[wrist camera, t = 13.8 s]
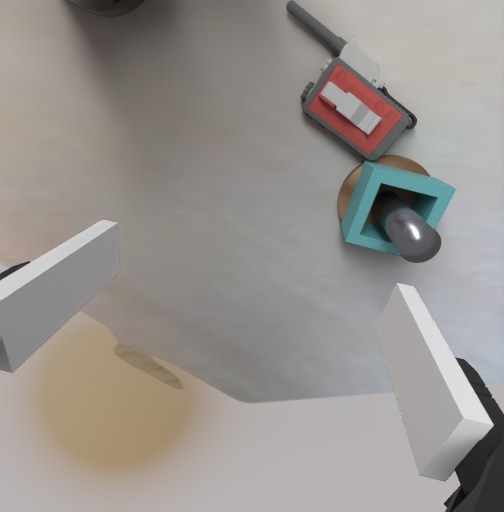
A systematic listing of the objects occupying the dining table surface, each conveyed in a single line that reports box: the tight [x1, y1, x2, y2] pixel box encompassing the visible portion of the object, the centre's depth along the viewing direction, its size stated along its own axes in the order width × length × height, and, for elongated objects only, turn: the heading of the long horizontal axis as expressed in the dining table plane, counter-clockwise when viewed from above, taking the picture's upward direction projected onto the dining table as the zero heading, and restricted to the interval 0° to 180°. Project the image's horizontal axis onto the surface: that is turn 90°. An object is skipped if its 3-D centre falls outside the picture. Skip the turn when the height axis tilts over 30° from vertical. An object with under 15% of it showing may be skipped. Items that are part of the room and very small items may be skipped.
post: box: [371, 190, 441, 263], centre depth 35 cm, size 4×4×14 cm
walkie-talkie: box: [287, 1, 417, 161], centre depth 36 cm, size 9×4×20 cm
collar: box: [341, 161, 456, 257], centre depth 38 cm, size 9×9×6 cm
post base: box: [338, 155, 430, 227], centre depth 42 cm, size 12×12×2 cm
